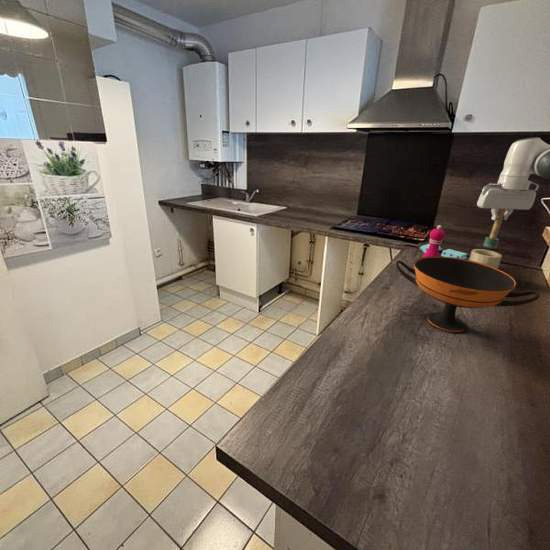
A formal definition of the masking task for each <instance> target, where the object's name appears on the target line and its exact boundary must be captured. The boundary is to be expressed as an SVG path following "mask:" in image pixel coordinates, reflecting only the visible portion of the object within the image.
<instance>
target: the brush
mask: <svg viewBox="0 0 550 550" xmlns="http://www.w3.org/2000/svg"><path fill="white" fill-rule="evenodd" d="M505 212H506V209H499V211H498V212H497V216H499V218H498V220H494V222H493V226H492V228H491V231H490V234H489V236H485V238H484V242H483V243H482V246H483V247H485V248H489V249H496V248H497V247H498V244H499V241H500V239H499V238H498V237H497V236H498V233H499V231H500V229H501V225H502V222H503V220H502V219H503V217H504V214H505Z"/></svg>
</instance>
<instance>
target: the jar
mask: <svg viewBox="0 0 550 550" xmlns="http://www.w3.org/2000/svg"><path fill="white" fill-rule="evenodd" d="M502 257H503V255H502V254H501V253H499V252H497V251H493V250H489V249H481V248H474V249H471V251H470V255H469V257H468V260H471V261H475V262H479V263H482V264H486V265H489V266H492V267H494V268H497V269H499V266H500V264H501V260H502Z"/></svg>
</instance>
